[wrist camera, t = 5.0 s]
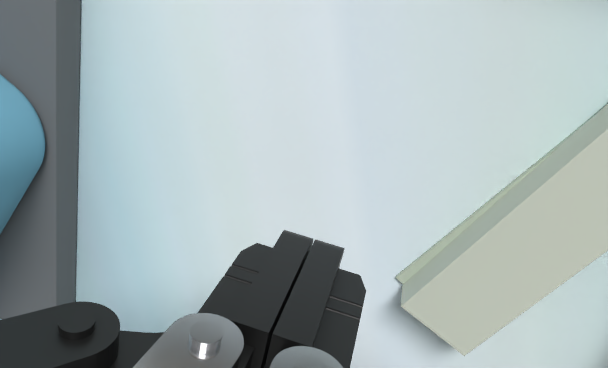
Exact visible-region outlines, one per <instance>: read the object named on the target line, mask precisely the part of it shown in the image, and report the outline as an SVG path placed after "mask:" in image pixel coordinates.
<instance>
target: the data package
mask: <svg viewBox="0 0 608 368" xmlns="http://www.w3.org/2000/svg"><path fill="white" fill-rule="evenodd" d="M44 154H45V136H44V131H43V127H42V124H41V121H40V119H39V117H38V115H37V113H36V111H35V109H34V107H33V106H32V104H31V103H30V102H29V100H28V99H27V98H26V97H25V96H24V95H23V93H22V92H20V91H19V90H18V89H17V88H16V87H15V86H14V85H13V84H11V83H10V82H9V81H8V80H7V79H6V78H4V77H3V76H2V75H1V74H0V234H1V232H2V231H3V229H4V227H5V226H6V224H7V222H8V221H9V219H10V217H11V216H12V214H13V212H14V210H15V209H16V207H17V205H18V204H19V202H20V200H21V199H22V197H23V195H24V194H25V192H26V190H27V188H28V187H29V185H30V183H31V182H32V180H33V178H34V177H35V175H36V173H37V172H38V170H39V168H40V166H41V164H42V162H43V158H44Z"/></svg>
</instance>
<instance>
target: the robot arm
mask: <svg viewBox="0 0 608 368" xmlns="http://www.w3.org/2000/svg"><path fill="white" fill-rule="evenodd" d="M312 244H313V245H312ZM343 252H344V248H342V247H338V246H335V245H332V244H329V243H325V242H322V241H319V240H315V241H314V243H313V239H312V238H309V237H306V236H302V235H299V234H296V233H293V232H289V231H286V230H284V231H283V232H282V234H281V236H280V237H279V239H278V241H277V242H276V244H275V246H274V247H273V248H271V247H268V246H265V245H262V244H258V243H256V244H254V245H252V246H250V247H248V248H246V249H244V250H243V251H241V252H240V254H239V255H238V256H237V258H236V259H235V261H234V262H233V264H232V266H230V268H229V269H228V271H227V272H226V273H225V276H224V277H223V278H222V279H221V281H220V282H219V283H218V285H217V286H216V288H215V289H214V291H213V292H212V293H211V295H210V296H209V298H208V299H207V300H206V302H205V303H204V305H203V306H202V308H201V309H200V310H199V312H198V313H196V314H190V315H187V316H184V317H182V318H180V319H178V320H177V321H175V322H174V323H173V324H172V325H171V326H170V327H169V328H168V329H167V330H166V331H165V332H162V333H143V332H130V331H120V322H119V319H118V317H117V315H116V314H115V313H114V312H113V311H112V310H111V309H109V308H107V307H106V306H103V305H101V304H97V303H92V302H71V303H66V304H62V305H58V306H54V307H50V308H46V309H42V310H38V311H34V312H30V313H26V314H22V315H18V316H14V317H10V318H6V319H2V320H0V368H350V364H351V359H352V354H353V350H354V345H355V340H356V336H357V331H358V326H359V322H360V317H361V312H362V307H363V303H364V298H365V294H366V289H365V287H364V284H363V282H362V279H361V276H360V275H358V274H354V273H351V272H348V271H345V270H342V269H339V266H340V263H341V259H342V256H343Z"/></svg>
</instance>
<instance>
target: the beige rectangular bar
mask: <svg viewBox="0 0 608 368" xmlns="http://www.w3.org/2000/svg"><path fill="white" fill-rule="evenodd" d="M607 251H608V104H607V105H606V106H605V107H603V108H602V109H601V110H600V111H599V112H598V113H596V114H595V115H594V116H593V117H591V118H590V119H589V120H588V121H586V122H585V123H584V124H583V125H581V126H580V127H579V128H578V129H577V130H575V131H574V132H573V133H572V134H570V135H569V136H568V137H567V138H565V139H564V140H563V141H562V142H560V143H559V144H558V145H557V146H556V147H554V148H553V149H552V150H551V151H549V152H548V153H547V154H546V155H544V156H543V157H542V158H541V159H539V160H538V161H537V162H536V163H535V164H533V165H532V166H531V167H530V168H528V169H527V170H526V171H525V172H523V173H522V174H521V175H520V176H518V177H517V178H516V179H515V180H514V181H512V182H511V183H510V184H509V185H507V186H506V187H505V188H504V189H502V190H501V191H500V192H499V193H497V194H496V195H495V196H494V197H493V198H491V199H490V200H489V201H488V202H486V203H485V204H484V205H483V206H481V207H480V208H479V209H478V210H476V211H475V212H474V213H473V214H472V215H470V216H469V217H468V218H467V219H465V220H464V221H463V222H462V223H460V224H459V225H458V226H457V227H455V228H454V229H453V230H452V231H451V232H449V233H448V234H447V235H446V236H444V237H443V238H442V239H441V240H439V241H438V242H437V243H436V244H434V245H433V246H432V247H431V248H430V249H428V250H427V251H426V252H425V253H423V254H422V255H421V256H420V257H418V258H417V259H416V260H415V261H413V262H412V263H411V264H410V265H409V266H407V267H406V268H405V269H404V270H402V271H401V272H400V273H399V274H397V275H396V279H397V280H399V281H400V282H401V283H402V284H403V285H402V294H401V307H402V308H403V309H405V310H406V311H407V312H408V313H410V314H411V315H412V316H414V317H415V318H416V319H417V320H419V321H420V322H421V323H422V324H424V325H425V326H426V327H428V328H429V329H430V330H431V331H433V332H434V333H435V334H437V335H438V336H439V337H440V338H442V339H443V340H444V341H446V342H447V343H448V344H449V345H451V346H452V347H453V348H454V349H456V350H457V351H458V352H460V353H461V354H462V355H463V356H465V355H466V354H468V353H469V352H471V351H472V350H473V349H475V348H476V347H477V346H479V345H480V344H481V343H483V342H484V341H485V340H487V339H488V338H490V337H491V336H492V335H494V334H495V333H496V332H498V331H499V330H500V329H502V328H503V327H505V326H506V325H507V324H509V323H510V322H511V321H513V320H514V319H515V318H517V317H518V316H519V315H521V314H522V313H524V312H525V311H526V310H528V309H529V308H530V307H532V306H533V305H534V304H536V303H537V302H539V301H540V300H541V299H543V298H544V297H545V296H547V295H548V294H549V293H551V292H552V291H554V290H555V289H556V288H558V287H559V286H560V285H562V284H563V283H564V282H566V281H567V280H568V279H570V278H571V277H573V276H574V275H575V274H577V273H578V272H579V271H581V270H582V269H583V268H585V267H586V266H588V265H589V264H590V263H592V262H593V261H594V260H596V259H597V258H598V257H600V256H601V255H602V254H604V253H605V252H607Z"/></svg>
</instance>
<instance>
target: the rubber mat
mask: <svg viewBox="0 0 608 368" xmlns="http://www.w3.org/2000/svg"><path fill="white" fill-rule="evenodd" d="M80 22H81V0H0V74H1V75H2V76H3V77H4V78H6V79H7V80H8V81H9V82H10V83H11V84H13V85H14V86H15V87H16V88H17V89H18V90H19V91H20V92H22V93H23V95H24V96H25V97H26V98H27V99H28V100H29V102H30V103H31V104H32V106H33V107H34V109H35V111H36V113H37V115H38V117H39V119H40V121H41V124H42V127H43V131H44V136H45V154H44V158H43V162H42V164H41V166H40V168H39V170H38V172H37V173H36V175H35V177H34V178H33V180H32V182H31V183H30V185H29V187H28V188H27V190H26V192H25V194H24V195H23V197H22V199H21V200H20V202H19V204H18V205H17V207H16V209H15V210H14V212H13V214H12V216H11V217H10V219H9V221H8V222H7V224H6V226H5V227H4V229H3V231H2V232H1V234H0V319H6V318H10V317H14V316H18V315H22V314H26V313H30V312H34V311H38V310H42V309H46V308H50V307H54V306H58V305H62V304H66V303H71V302H75V284H76V231H77V179H78V127H79V74H80Z"/></svg>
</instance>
